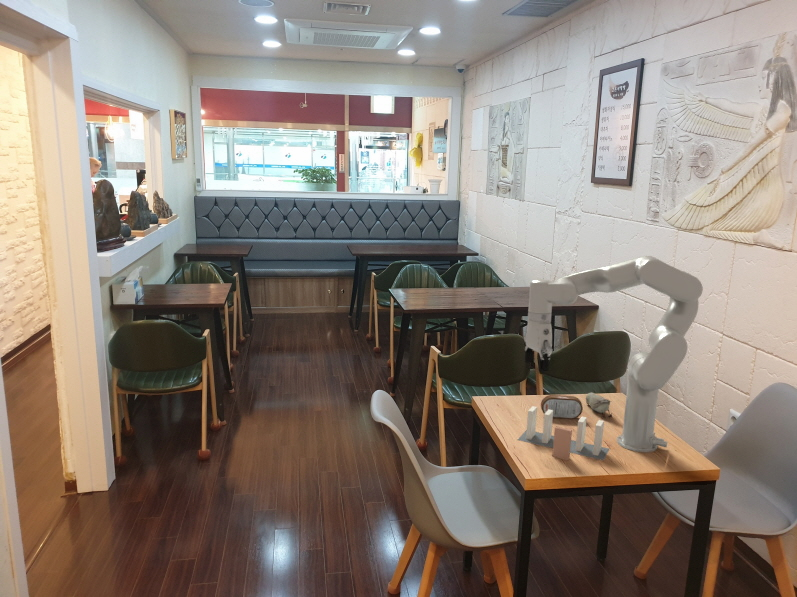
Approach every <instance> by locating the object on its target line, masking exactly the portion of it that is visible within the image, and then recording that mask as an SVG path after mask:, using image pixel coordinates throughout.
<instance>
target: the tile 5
mask: <svg viewBox="0 0 797 597" xmlns="http://www.w3.org/2000/svg"><path fill="white" fill-rule="evenodd" d="M604 423H605V420H601V419H598V421H597V422H596V424H595V430H594V438H593V445H594V448H593V455H597V456H598V455H599V453H600V451H601V447H603V446H602V445H603V436H604V426H605V424H604Z"/></svg>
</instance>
